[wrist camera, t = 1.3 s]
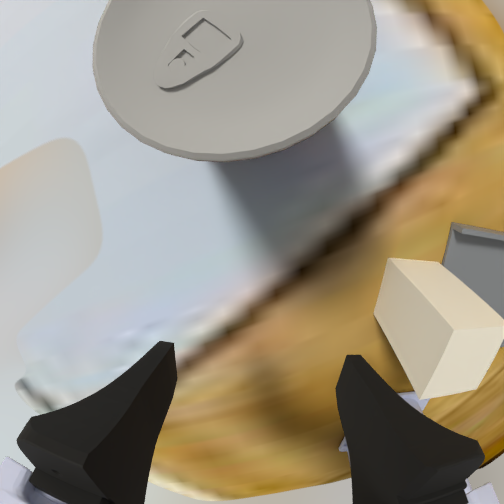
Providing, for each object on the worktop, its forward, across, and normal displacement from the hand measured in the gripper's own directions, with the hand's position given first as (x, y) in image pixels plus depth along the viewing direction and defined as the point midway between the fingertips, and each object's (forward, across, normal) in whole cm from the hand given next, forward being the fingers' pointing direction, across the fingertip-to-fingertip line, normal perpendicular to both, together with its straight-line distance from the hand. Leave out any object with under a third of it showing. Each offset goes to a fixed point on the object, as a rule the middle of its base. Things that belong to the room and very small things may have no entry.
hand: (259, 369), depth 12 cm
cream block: (+9, -11, 0) cm, 14 cm away
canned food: (+9, +2, -12) cm, 15 cm away
